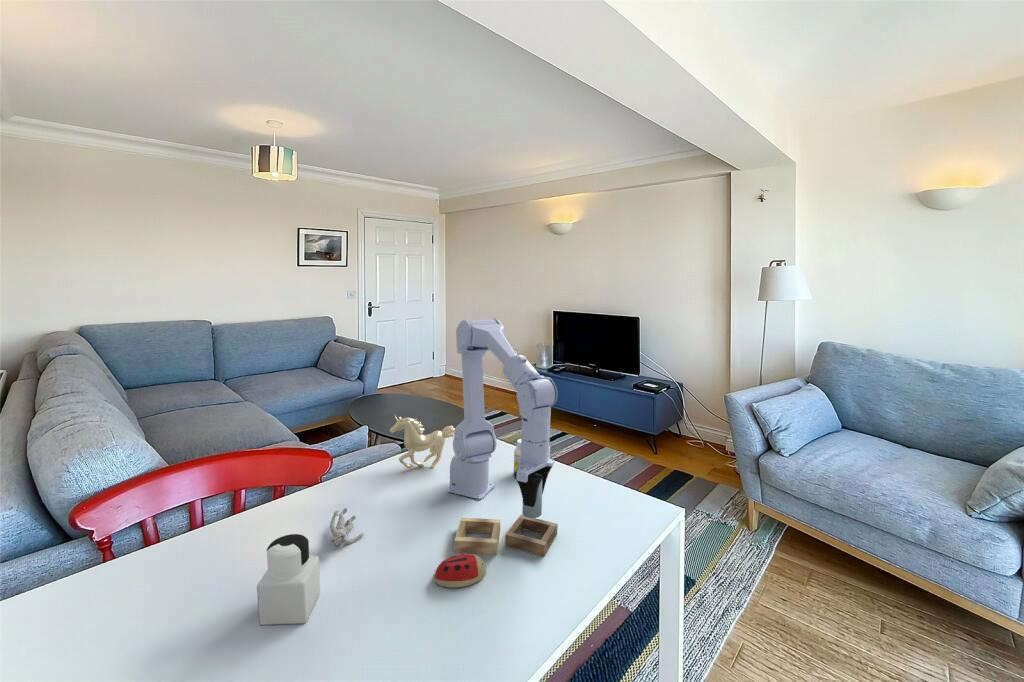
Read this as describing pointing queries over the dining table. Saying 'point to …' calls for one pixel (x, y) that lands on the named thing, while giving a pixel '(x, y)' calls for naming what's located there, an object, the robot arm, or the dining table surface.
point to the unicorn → (421, 440)
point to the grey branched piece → (342, 530)
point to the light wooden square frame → (477, 544)
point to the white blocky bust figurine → (288, 582)
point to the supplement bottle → (517, 455)
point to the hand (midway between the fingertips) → (533, 500)
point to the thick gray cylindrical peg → (537, 509)
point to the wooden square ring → (527, 543)
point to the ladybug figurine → (460, 571)
